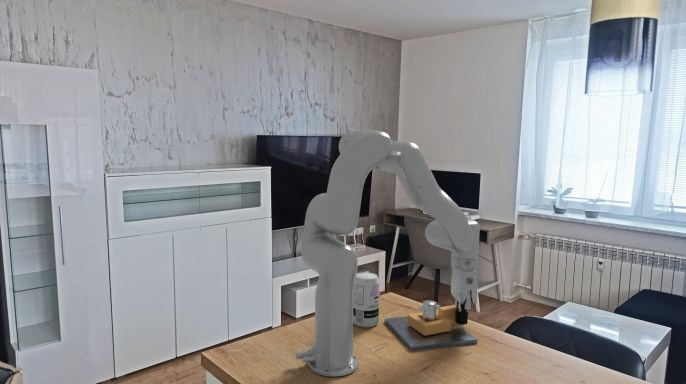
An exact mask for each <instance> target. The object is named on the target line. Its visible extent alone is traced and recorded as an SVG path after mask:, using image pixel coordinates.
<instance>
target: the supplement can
mask: <svg viewBox="0 0 686 384" xmlns="http://www.w3.org/2000/svg"><path fill="white" fill-rule="evenodd" d="M380 285H381V283H380V278H379V277H378V274H377V273H374V272H367V271H366V272H357V273H356V278H355V284H354V298H353V325H355V326H357V327H359V328H366V329H367V328H372V327H375V326H377V325H378V323H379V322H380V321H379V319H380V292H381V291H380V289H381V288H380Z"/></svg>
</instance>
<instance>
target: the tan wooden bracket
mask: <svg viewBox="0 0 686 384" xmlns="http://www.w3.org/2000/svg"><path fill="white" fill-rule="evenodd" d="M437 311H438V312H437ZM437 311H436V321H431V322H426V321H424V320H422V312H423V311H420V312H414V313H408V314H407V316H408V324H409V325H410V326H411V327H413V328H414V329H416V330H417V331H419V332H420V333H421V334H423V335H424V336H426V335H431V334H436V333H441V332H447V331H451V324H456V322H455V312H456V307H455V304H451V305H447V306H446V305H445V306H440V309H437Z"/></svg>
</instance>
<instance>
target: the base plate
mask: <svg viewBox="0 0 686 384" xmlns="http://www.w3.org/2000/svg"><path fill="white" fill-rule="evenodd" d="M440 307H441V305H439V304H437V302H436V301H434V300H424V301H422V306H421V305H420V306H418V310H419V311H420V312H422V320H424V321H426V322H431V321H436V312H437V311H438V309H440ZM384 323H385V325H386V326H387V327H388V328H389V327H390V328H389V329H390V330H391V331H392V332H393V333H394V334H395V335H396V336H397V338H398V339H399V340H400V342H402V344H404V345H405V346H406V348H408V350H409V349H410V350H411V351H410V350H409V351H410V352H417V350H418V351H425V349H427V350H433V348H435V349H442V347H443V348H450V347H459V346H467V345H475V344H476V345H477V344H478V339H477V338H476V337H475V336H474V335H472V334H471V333H470V332H468V331H467V330H466V329H465V328H467V327H468V324H461V325H458V324H457V323H456V324H451V331H447V332H441V333H436V334H431V335H426V336H424V335H423V334H421V333H420V332H419V331H417V330H416V329H414V328H413V327H411V326H410V325H409V324H408V315H407V316H398V317H390V318H389V317H388V318H387V317H386V318H384Z"/></svg>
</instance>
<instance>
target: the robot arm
mask: <svg viewBox="0 0 686 384" xmlns="http://www.w3.org/2000/svg"><path fill="white" fill-rule="evenodd" d="M338 150H339V155H338V156H337V159H336V160H335V161H334V163H333V166H332V167H331V170H330V174H329V178H328V184H327V189H326V192H323V193H320V194H317V195H316V196H314V197H313V198H312V199H311V201H310V202H309V204H308V206H307V209H306V212H305V217H304V218H305V219H304V225H303V234H302V240H301V248H300V249H301V252H300V253H301V259H302V261H303V263H304V264H305V265H306V266H307V267H308V268H309V269H311V270H312V271H314V272H315V273H317V274H318V281H317V284H316V288H315V292H314V293H315V294H314V344H311V348H308V349H307V350H298V351H297V350H296V351H295V358H296V359H295V360H302V363H303V364H304V363H308V367H309V370H311V371H312V372H314V373H315V374H318V375H320V376H324V377H342V376H347V375H350V374H352V373H354V372H355V371H356V370H357V369H358V368H359V358H358V357H357V355H356V354H355V353H353V345H354V323H353V298H354V284H355V278H356V274H357V273H358V265H359V261H358V260H359V259H358V256H357V253H356V252H355V251H354V249H353V248H352V247H351V246H350V245H349V244H347V243H345V242H343V241H342V240H338V239H337V236H338V237H345V236H346V237H347V236H350V235H351V234H353V232H355V230H356V229H357V227H358V223H359V220H360V219H359V218H360V211H361V203H362V198H363V197H362V195H363V190H364V185H365V182H366V179H367V177H368V175H369V174H370V172H371V171H372V170H378V171H381V172H382V171H383V172H386V173H387V172H388V173H394V174H395V176H396V177H397V178H398V180H399V183H400V184H401V186H402V188H403V189H404V192H405V194H406V196H407V198H408V199H409V201H410V203H411V204H412V205H413V206H415V207H416V208H417V209H419V210H420V211H422V212H424V213H426V215H428V216H430V217H431V218H433V219H434V220H433V221H431V222H429V223H428V225H426V227H425V230H424V235H425V236H424V237H425V238H426V240H427V242H428V243H429V244H431V245H432V246H436V247H438V248H441V249H445V250H448V251H451V254H450V255H451V256H450V268H451V269H452V271H451V278H450V279H451V280H450V293H451V295H452V296H453V298H454V299H455V302H454V303H455V304H454V305H455V307H456V312H455V322H456V323H457V324H458V325H461V324H465V325H468V316H469V311H471V309H472V307H471V306H472V305H471V303H472V304H473V305H477V304H478V273H477V270H478V268H479V267H478V265H479V264H478V263H479V250H480V248H479V247H480V228H481V227H480V224H479V222H477V221H476V220H473V219H467V217H466V215H465V213H464V212H463V210H462V209H461V207H460V206H458V204H457V203H456V202H455V201H454V200H453V199H452V198H451V197H450V196H449V195H448V194H447V193H446V192H445V191H444V190H443V189H442V188H441V187H440V186H439V184H438V183H437V179H436V178H435V176H434V173H433V172H432V170H431V167H430V166H429V163H428V162H427V160H426V158H425V156H424V154H423V152H422V150H421V148H420V147H419V145H417V144H416V143H413V142H412V141H411V142H410V141H403V140H402V141H400V140H392V138H391V137H390V135H389V134H387V133H386V132H384V131H381V130H377V129H375V130H374V129H370V130H369V129H368V130H365V129H364V130H362V129H361V130H351V131H348V132H345V134H343V135H342V136H341V137H340V139H339V143H338Z"/></svg>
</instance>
